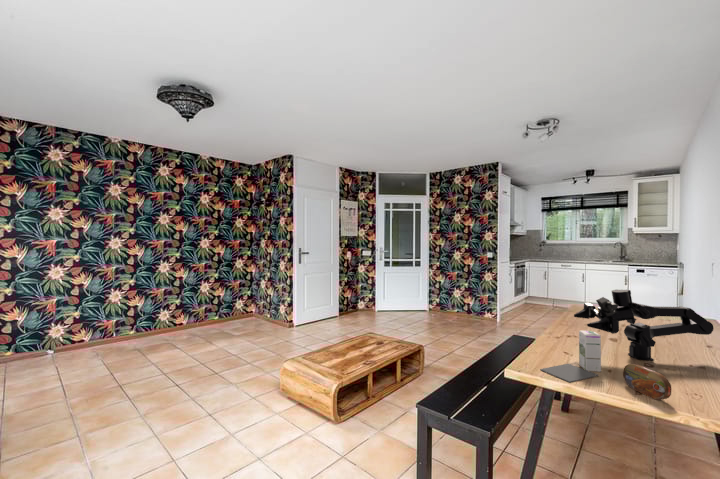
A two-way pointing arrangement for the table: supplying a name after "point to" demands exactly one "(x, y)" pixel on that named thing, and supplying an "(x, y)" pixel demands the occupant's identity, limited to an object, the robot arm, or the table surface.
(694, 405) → the table surface
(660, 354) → the table surface
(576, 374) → the mat
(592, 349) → the syrup box
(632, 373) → the tin
